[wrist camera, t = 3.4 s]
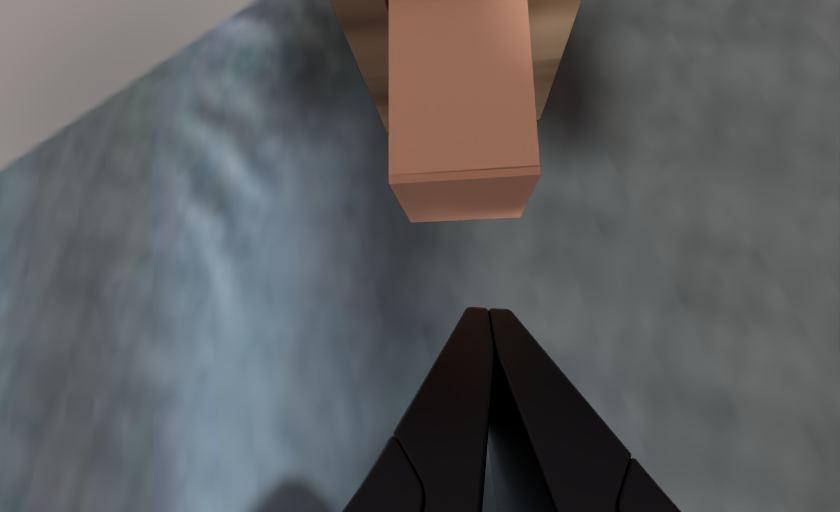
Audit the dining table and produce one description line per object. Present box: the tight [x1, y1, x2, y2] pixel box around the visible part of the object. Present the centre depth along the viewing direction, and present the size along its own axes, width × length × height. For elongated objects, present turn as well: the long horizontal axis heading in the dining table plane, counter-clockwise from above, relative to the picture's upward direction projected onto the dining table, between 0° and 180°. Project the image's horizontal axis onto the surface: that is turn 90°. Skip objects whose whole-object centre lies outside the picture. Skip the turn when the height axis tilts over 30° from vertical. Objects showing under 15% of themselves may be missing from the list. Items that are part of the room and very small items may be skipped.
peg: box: [389, 0, 541, 222], centre depth 14 cm, size 10×4×4 cm, turn 1°
